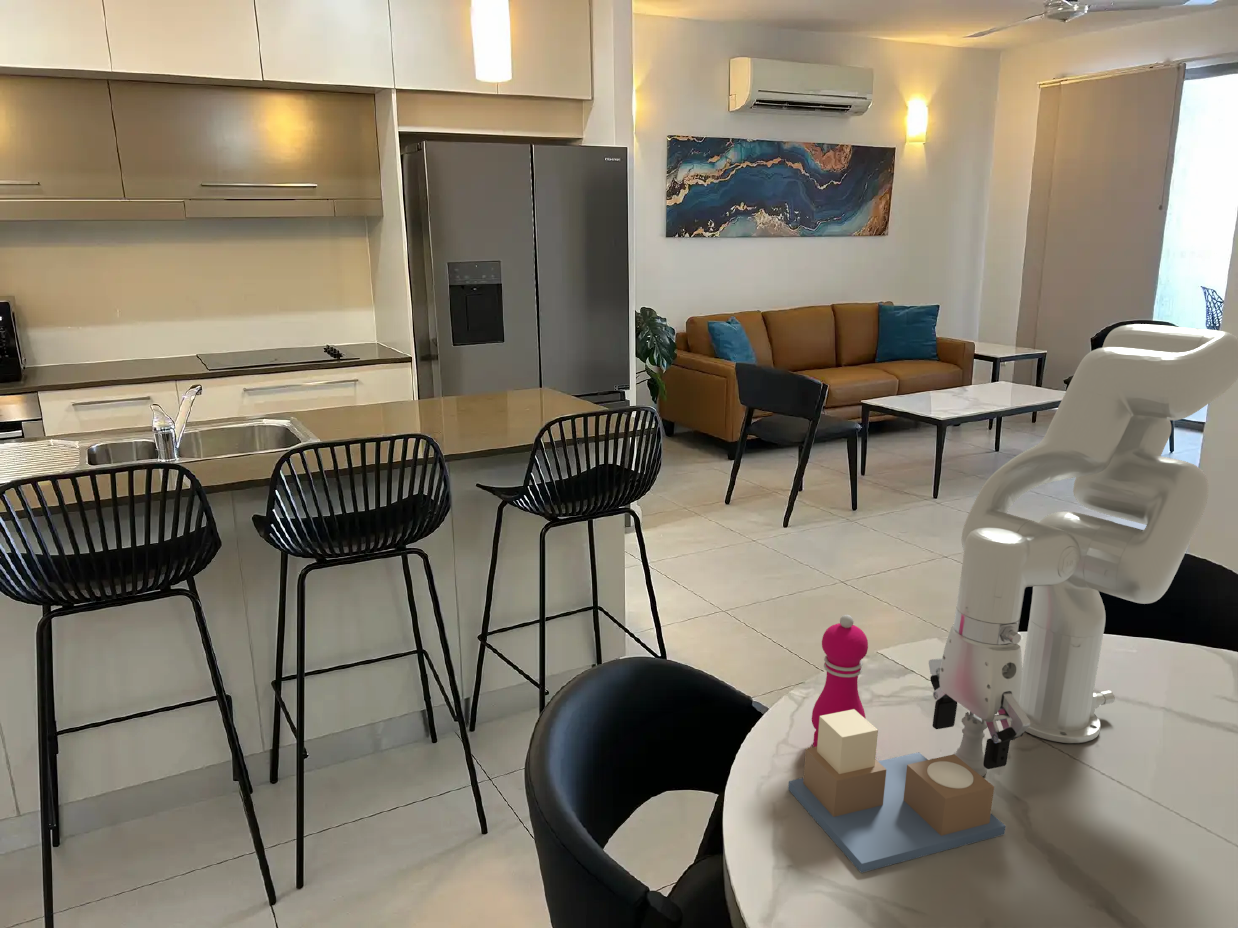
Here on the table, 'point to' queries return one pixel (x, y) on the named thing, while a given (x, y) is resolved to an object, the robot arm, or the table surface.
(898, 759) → the blue and tan platform
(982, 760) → the rook chess piece
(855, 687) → the pepper mill
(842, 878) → the table surface
